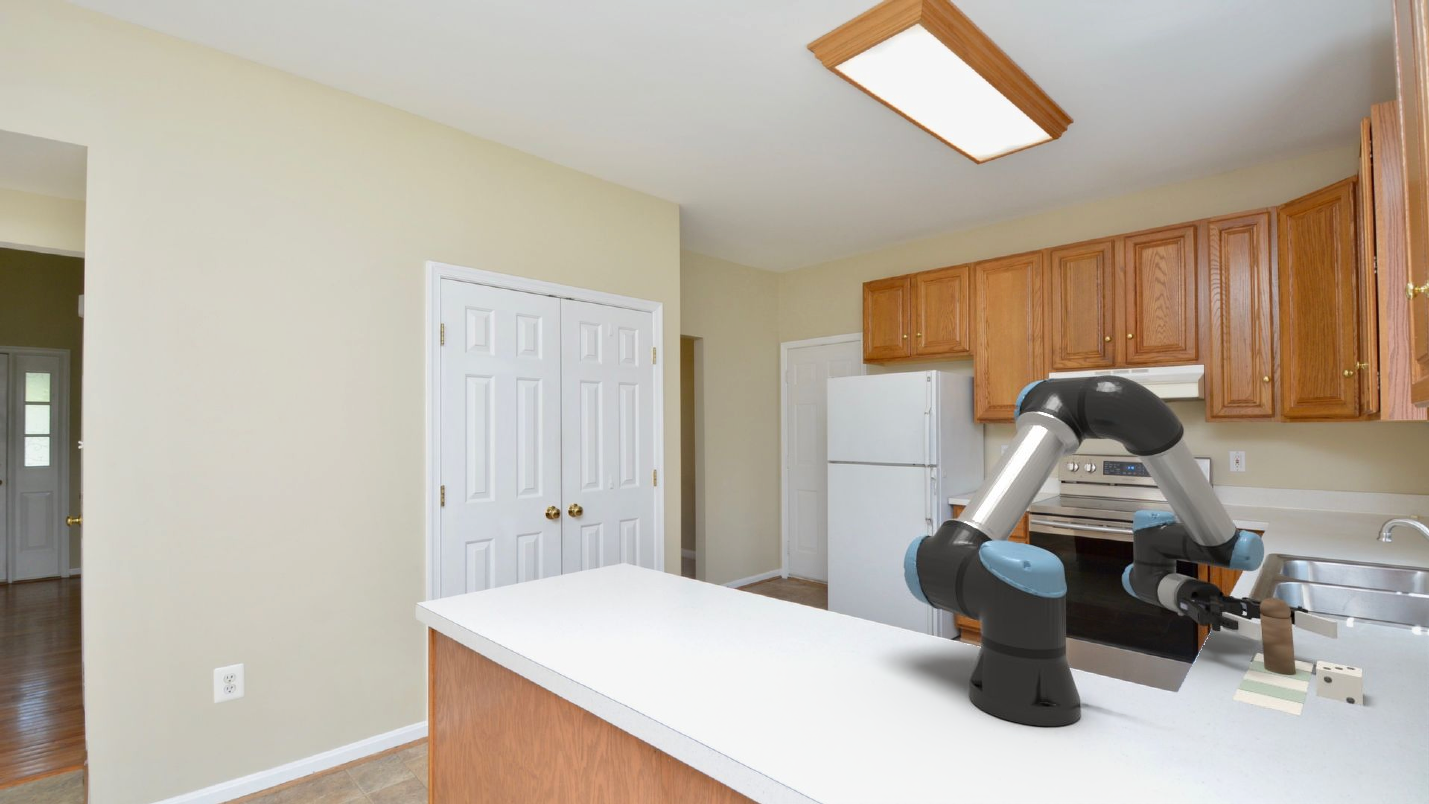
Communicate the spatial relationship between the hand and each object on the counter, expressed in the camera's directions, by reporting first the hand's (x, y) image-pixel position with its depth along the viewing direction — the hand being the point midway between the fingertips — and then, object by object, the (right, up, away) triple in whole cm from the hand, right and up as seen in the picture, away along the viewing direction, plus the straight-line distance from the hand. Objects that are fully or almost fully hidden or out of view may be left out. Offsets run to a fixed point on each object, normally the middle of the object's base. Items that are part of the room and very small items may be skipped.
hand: (1297, 631), depth 107 cm
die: (0, -8, -7) cm, 11 cm away
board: (-5, -8, -1) cm, 10 cm away
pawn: (0, -8, +3) cm, 8 cm away
